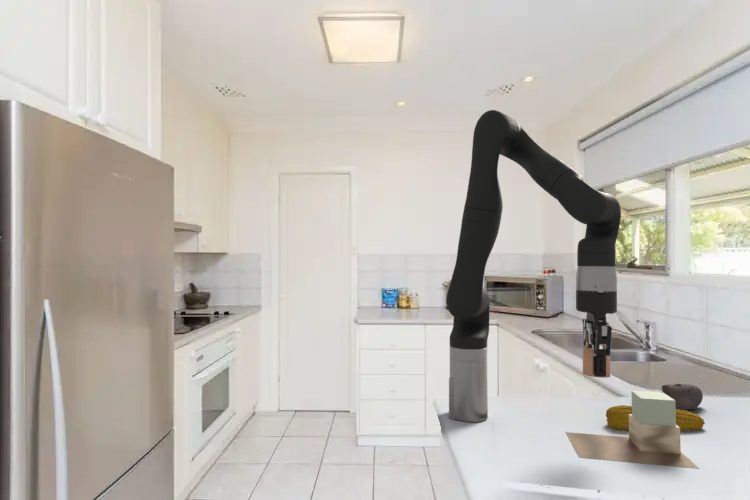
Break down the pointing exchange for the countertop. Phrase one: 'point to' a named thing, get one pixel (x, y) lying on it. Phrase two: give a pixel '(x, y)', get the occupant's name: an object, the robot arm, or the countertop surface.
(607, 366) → the peach rounded cylinder
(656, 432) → the base block
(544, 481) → the countertop surface
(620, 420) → the food
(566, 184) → the robot arm
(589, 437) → the board
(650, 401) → the top block
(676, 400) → the perforated stone tool
